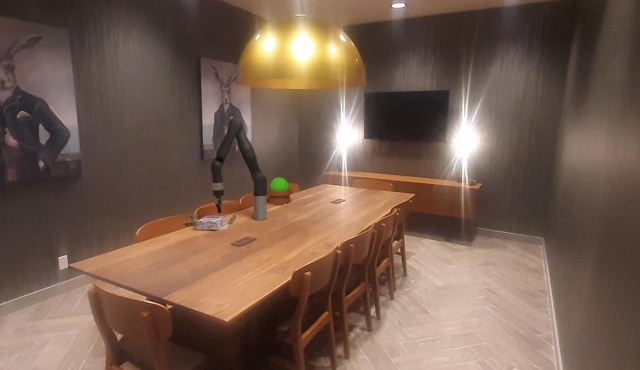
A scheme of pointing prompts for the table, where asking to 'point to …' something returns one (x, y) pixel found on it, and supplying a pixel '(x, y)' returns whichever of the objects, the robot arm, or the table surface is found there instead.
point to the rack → (230, 218)
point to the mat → (221, 227)
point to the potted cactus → (279, 192)
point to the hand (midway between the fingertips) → (219, 212)
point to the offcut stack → (192, 220)
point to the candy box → (211, 222)
